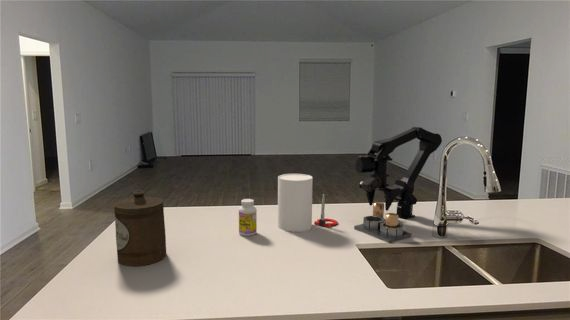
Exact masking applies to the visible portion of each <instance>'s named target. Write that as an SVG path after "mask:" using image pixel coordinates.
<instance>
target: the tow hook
mask: <svg viewBox="0 0 570 320" xmlns="http://www.w3.org/2000/svg"><path fill="white" fill-rule="evenodd" d="M325 201H326V200H325V194H324V193H323V194H322V199H321V211H320V218H319V219H317V220H314V223H313V224H314V226H315V225H316V226H320V227H326V228H330V227H332V226H334V227H335V226H337V225H338V221H337V220H335V219H332V218H325V215H326V214H325V204H326V202H325Z"/></svg>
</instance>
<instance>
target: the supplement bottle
mask: <svg viewBox="0 0 570 320" xmlns="http://www.w3.org/2000/svg"><path fill="white" fill-rule="evenodd" d="M254 201H255V200H254V199H251V198H243V199H242V200H241V201H240V203H241V206H240V207H239V208H238V234H239V235H240V236H244V237H249V236H250V237H251V236H254V235H256V234H257V227H258V226H257V217H258V216H257V211H258V210H257V207H256V206H254V204H255V202H254Z"/></svg>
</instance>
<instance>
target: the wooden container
mask: <svg viewBox="0 0 570 320" xmlns="http://www.w3.org/2000/svg"><path fill="white" fill-rule="evenodd" d="M132 194H133V197H130V198H124V199H120V200H118V201H116V202H114V204H113V209H114V211H113V212H114V219H115V220H114V221H115V224H114V225H115V245H116V255H117V257H116V258H117V261H118V263H119V264H120V265H123V266H131V267H139V266H147V265H151V264H155V263H157V262H159V261H162V260H163V259H164V258H165V257H166V256H167V242H166V241H167V238H166V225H165V224H166V223H165V211H164V209H165V208H164V206H165V205H164V200H163V199H162V198H160V197H154V196H145V191H143V190H142V189H136V190H134V191H133V193H132Z"/></svg>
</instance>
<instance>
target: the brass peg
mask: <svg viewBox="0 0 570 320" xmlns="http://www.w3.org/2000/svg"><path fill="white" fill-rule="evenodd" d="M384 211H385V203H384V202H381V201H373V204H372V216H379V217H382V218H384V214H385V212H384Z"/></svg>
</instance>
